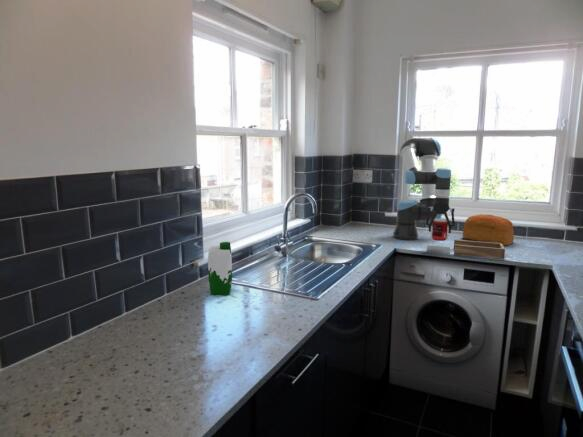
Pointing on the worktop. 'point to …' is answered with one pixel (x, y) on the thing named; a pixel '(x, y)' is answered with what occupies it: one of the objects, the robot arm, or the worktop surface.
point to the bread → (489, 229)
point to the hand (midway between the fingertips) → (439, 238)
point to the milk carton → (220, 269)
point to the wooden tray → (479, 249)
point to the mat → (438, 249)
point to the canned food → (439, 229)
